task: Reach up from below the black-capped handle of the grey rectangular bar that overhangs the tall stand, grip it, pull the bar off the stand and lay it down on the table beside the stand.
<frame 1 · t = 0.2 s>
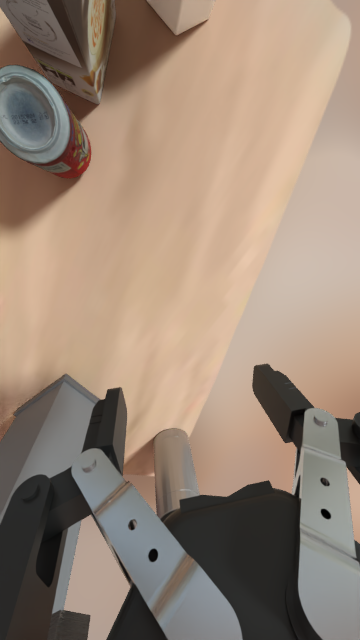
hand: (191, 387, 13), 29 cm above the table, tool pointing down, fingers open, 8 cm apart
stand: (63, 407, 49), on the table
coffee box: (82, 49, 27), on the table
soda can: (67, 150, 31), on the table
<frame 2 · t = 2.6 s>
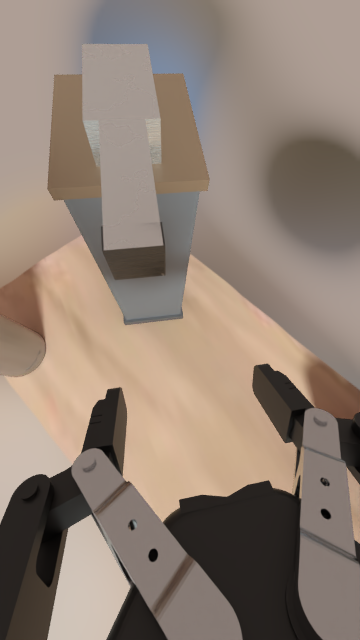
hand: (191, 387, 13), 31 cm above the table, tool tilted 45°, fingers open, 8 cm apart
grey rectangular bar: (125, 122, 19), point 32 cm above the table, touching stand
stand: (150, 291, 49), on the table
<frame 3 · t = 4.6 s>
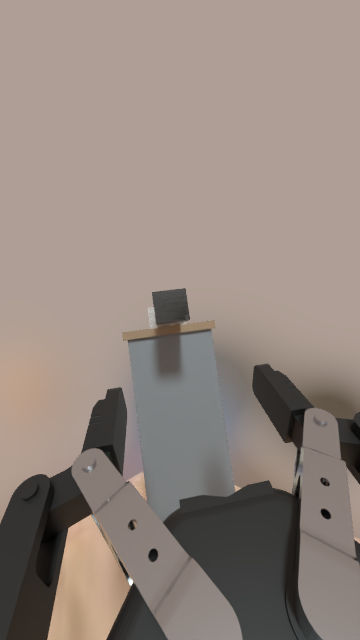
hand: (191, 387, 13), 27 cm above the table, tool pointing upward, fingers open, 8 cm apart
grey rectangular bar: (167, 328, 36), point 32 cm above the table, touching stand
stand: (195, 540, 34), on the table
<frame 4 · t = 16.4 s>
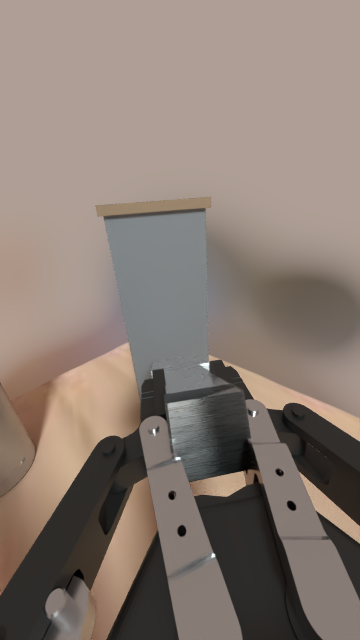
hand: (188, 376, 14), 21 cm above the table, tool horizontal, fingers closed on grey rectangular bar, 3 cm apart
grey rectangular bar: (180, 389, 23), point 14 cm above the table, tilted 30°, touching gripper
stand: (172, 389, 43), on the table
when the fingers open (12 cm above the table, at t = 18.7 s): grey rectangular bar drops 5 cm, on the table.
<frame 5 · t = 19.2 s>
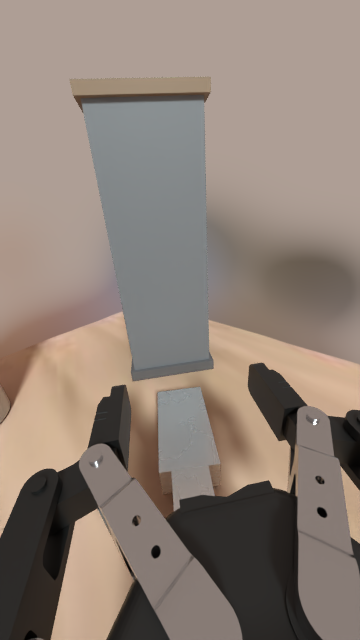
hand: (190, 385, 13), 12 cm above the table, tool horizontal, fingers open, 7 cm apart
grey rectangular bar: (184, 437, 24), on the table
stand: (168, 349, 39), on the table
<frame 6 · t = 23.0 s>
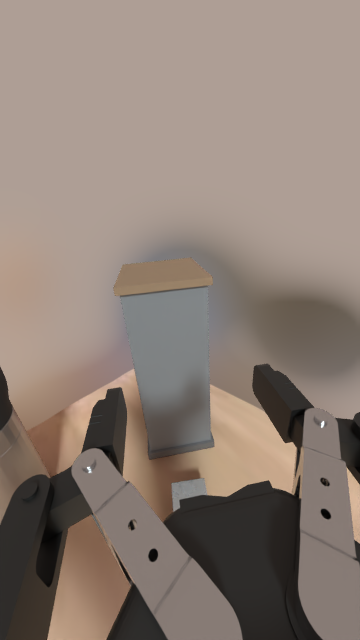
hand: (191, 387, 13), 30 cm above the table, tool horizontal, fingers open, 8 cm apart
grey rectangular bar: (192, 523, 31), on the table
stand: (176, 421, 47), on the table
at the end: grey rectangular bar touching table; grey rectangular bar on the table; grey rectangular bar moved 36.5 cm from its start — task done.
